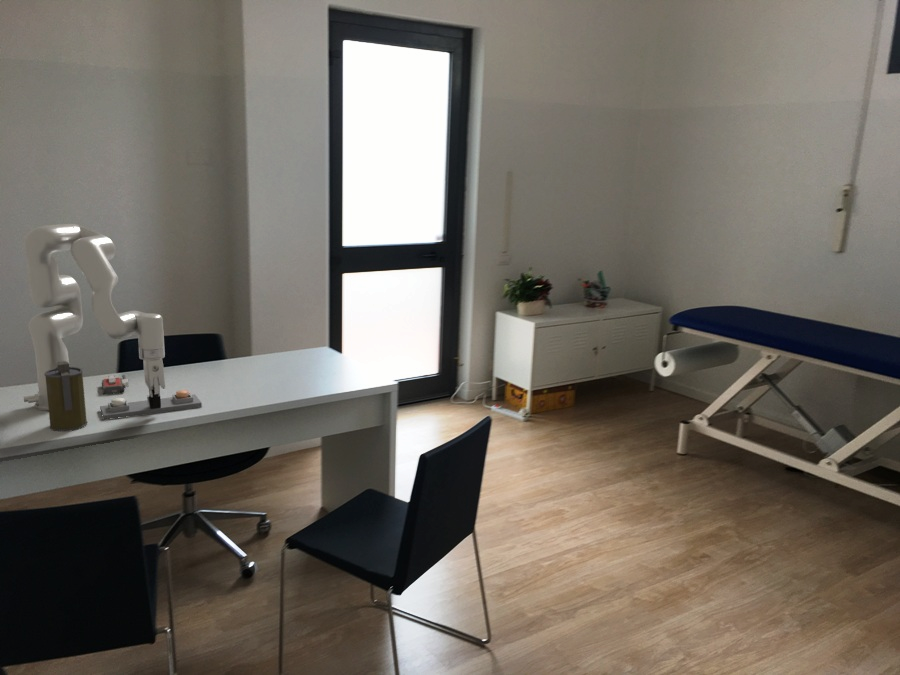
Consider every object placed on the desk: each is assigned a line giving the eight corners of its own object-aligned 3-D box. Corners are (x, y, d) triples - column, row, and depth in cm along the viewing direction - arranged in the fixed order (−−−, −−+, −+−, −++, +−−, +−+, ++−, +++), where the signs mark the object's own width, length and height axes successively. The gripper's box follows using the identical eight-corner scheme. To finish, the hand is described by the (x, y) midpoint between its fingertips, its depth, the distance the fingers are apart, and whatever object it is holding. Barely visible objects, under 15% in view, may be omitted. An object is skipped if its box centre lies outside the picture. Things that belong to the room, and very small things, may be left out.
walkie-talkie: (130, 394, 259) (127, 378, 277) (129, 382, 258) (126, 367, 276) (103, 397, 255) (101, 381, 273) (102, 384, 254) (100, 369, 272)
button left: (112, 407, 236) (112, 402, 235) (111, 404, 239) (110, 398, 239) (126, 406, 238) (125, 400, 237) (124, 402, 241) (123, 397, 241)
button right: (177, 399, 246) (177, 394, 245) (175, 396, 249) (175, 391, 249) (190, 397, 248) (189, 392, 247) (187, 394, 251) (187, 389, 251)
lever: (158, 406, 241) (157, 395, 240) (148, 407, 239) (147, 396, 239) (157, 404, 243) (156, 394, 242) (147, 405, 241) (146, 395, 240)
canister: (48, 423, 228) (42, 360, 224) (85, 417, 234) (80, 357, 229) (51, 434, 219) (44, 369, 215) (89, 428, 225) (84, 365, 220)
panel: (104, 420, 232) (103, 411, 232) (100, 410, 241) (99, 401, 240) (201, 406, 247) (201, 398, 247) (195, 398, 256) (194, 390, 255)
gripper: (168, 357, 228) (172, 413, 232) (160, 346, 240) (163, 399, 245) (142, 359, 224) (146, 416, 229) (135, 348, 237) (139, 402, 241)
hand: (155, 407), depth 237 cm, fingers closed
